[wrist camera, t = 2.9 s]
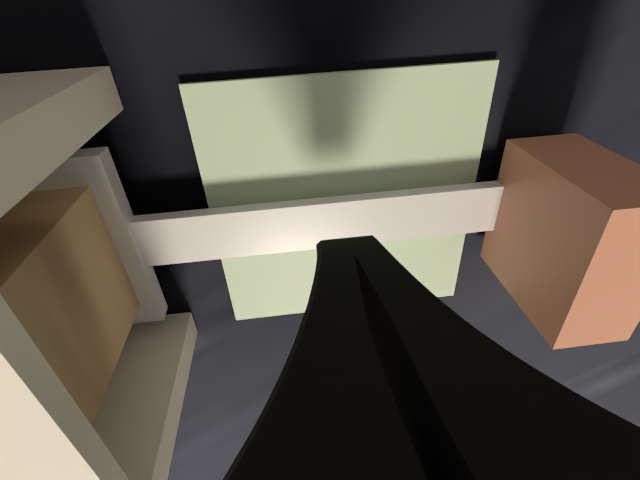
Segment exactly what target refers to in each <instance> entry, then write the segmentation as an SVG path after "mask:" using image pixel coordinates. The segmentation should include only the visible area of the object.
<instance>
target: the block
mask: <svg viewBox="0 0 640 480" xmlns="http://www.w3.org/2000/svg"><path fill="white" fill-rule="evenodd" d="M0 294H1V296H2V297H3V299H4V300H5V302H6V303H7V305H8V306H9V307H10V309H11V310H12V312H13V313H14V315H15V316H16V318H17V319H18V320H19V322H20V323H21V325H22V326H23V328H24V329H25V330H26V332H27V333H28V335H29V336H30V338H31V339H32V341H33V342H34V343H35V345H36V346H37V348H38V349H39V351H40V352H41V354H42V355H43V356H44V358H45V359H46V361H47V362H48V364H49V365H50V366H51V368H52V369H53V371H54V372H55V374H56V375H57V377H58V378H59V379H60V381H61V382H62V384H63V385H64V387H65V388H66V389H67V391H68V392H69V394H70V395H71V397H72V398H73V400H74V401H75V402H76V404H77V405H78V407H79V408H80V410H81V411H82V413H83V414H84V415H85V417H86V418H87V420H88V421H89V423H90V424H91V425H92V424H93V422H94V419H95V417H96V414H97V412H98V409H99V407H100V404H101V402H102V399H103V397H104V394H105V392H106V389H107V387H108V384H109V382H110V379H111V377H112V374H113V372H114V369H115V367H116V364H117V362H118V359H119V357H120V354H121V352H122V349H123V347H124V344H125V342H126V339H127V337H128V334H129V332H130V329H131V327H132V324H133V322H134V319H135V317H136V314H137V312H138V309H139V307H140V303H139V301H138V298H137V296H136V294H135V291H134V289H133V287H132V284H131V282H130V280H129V277H128V275H127V273H126V270H125V268H124V266H123V263H122V261H121V259H120V257H119V254H118V252H117V250H116V247H115V245H114V243H113V240H112V238H111V236H110V233H109V231H108V229H107V226H106V224H105V222H104V219H103V217H102V215H101V212H100V210H99V208H98V205H97V203H96V201H95V198H94V196H93V194H92V191H91V189H90V187H89V186H86V187H75V188H64V189H53V190H42V191H31V192H29V193H28V194H27V195H26V196H25V197H24V198H23V199H21V200H20V201H19V202H18V203H17V204H16V205H15V206H13V207H12V208H11V209H10V210H9V211H8V212H7V213H6V214H4V215H3V216H2V217H1V218H0Z"/></svg>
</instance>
